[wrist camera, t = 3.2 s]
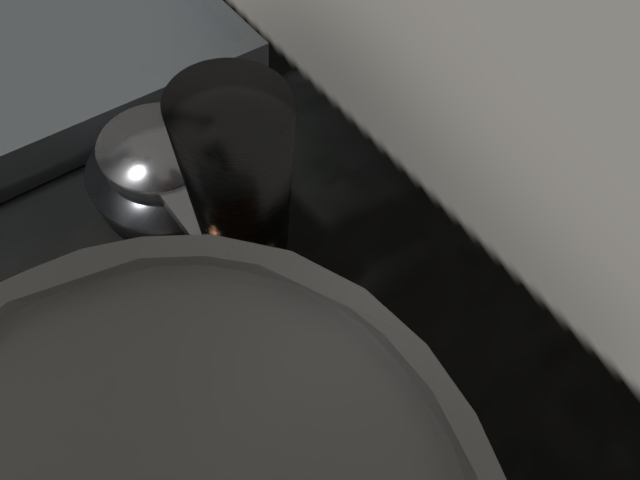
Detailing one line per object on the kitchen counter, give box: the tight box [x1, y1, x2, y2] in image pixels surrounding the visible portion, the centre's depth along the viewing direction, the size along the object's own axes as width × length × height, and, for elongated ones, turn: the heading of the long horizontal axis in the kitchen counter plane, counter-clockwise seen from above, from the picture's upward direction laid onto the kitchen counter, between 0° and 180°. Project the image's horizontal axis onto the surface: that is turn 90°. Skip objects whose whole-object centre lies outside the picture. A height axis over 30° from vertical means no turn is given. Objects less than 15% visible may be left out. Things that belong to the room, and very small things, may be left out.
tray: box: [0, 0, 269, 203], centre depth 23 cm, size 20×20×2 cm
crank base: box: [84, 146, 186, 240], centre depth 18 cm, size 11×13×2 cm
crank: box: [95, 57, 297, 250], centre depth 13 cm, size 12×5×9 cm, turn 40°
